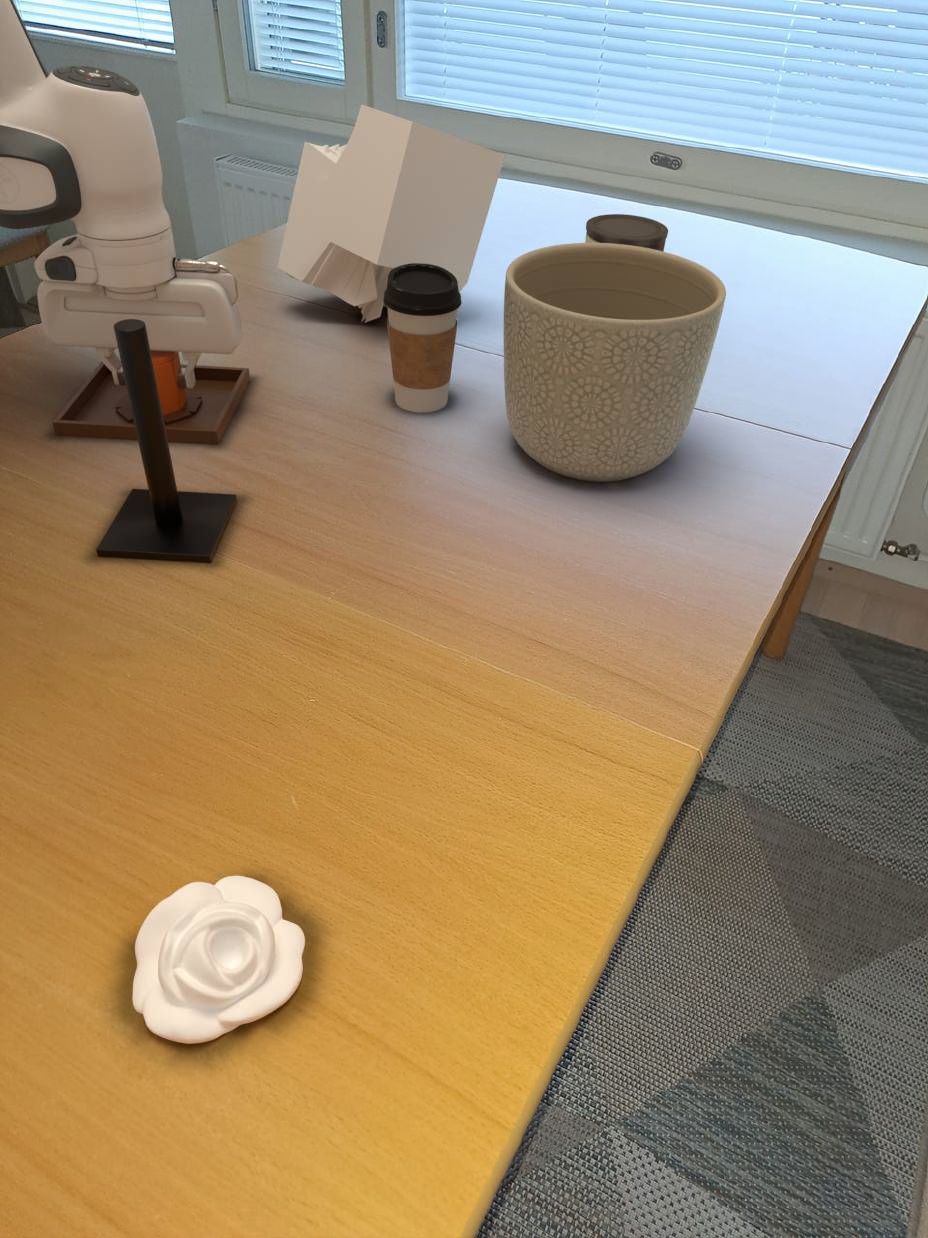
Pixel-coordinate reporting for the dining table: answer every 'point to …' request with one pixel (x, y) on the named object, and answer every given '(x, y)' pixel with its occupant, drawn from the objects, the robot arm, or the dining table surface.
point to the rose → (215, 959)
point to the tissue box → (386, 207)
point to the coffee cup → (421, 333)
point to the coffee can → (626, 231)
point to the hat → (167, 391)
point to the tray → (220, 400)
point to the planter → (605, 355)
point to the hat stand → (159, 477)
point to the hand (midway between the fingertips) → (155, 384)
